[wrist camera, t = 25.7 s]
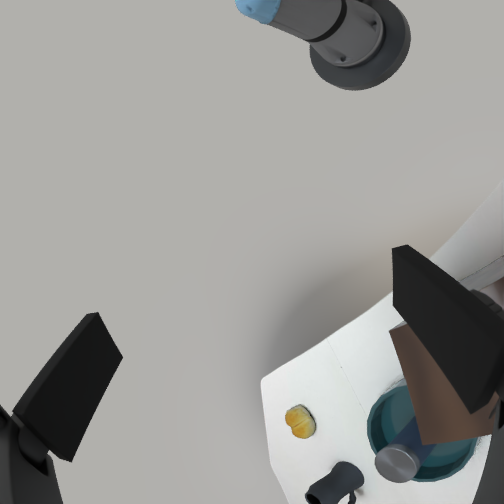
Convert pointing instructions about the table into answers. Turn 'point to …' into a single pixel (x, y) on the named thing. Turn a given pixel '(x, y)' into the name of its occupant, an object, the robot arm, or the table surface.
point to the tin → (403, 455)
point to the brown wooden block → (435, 382)
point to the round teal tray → (397, 417)
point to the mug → (336, 485)
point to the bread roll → (300, 422)
